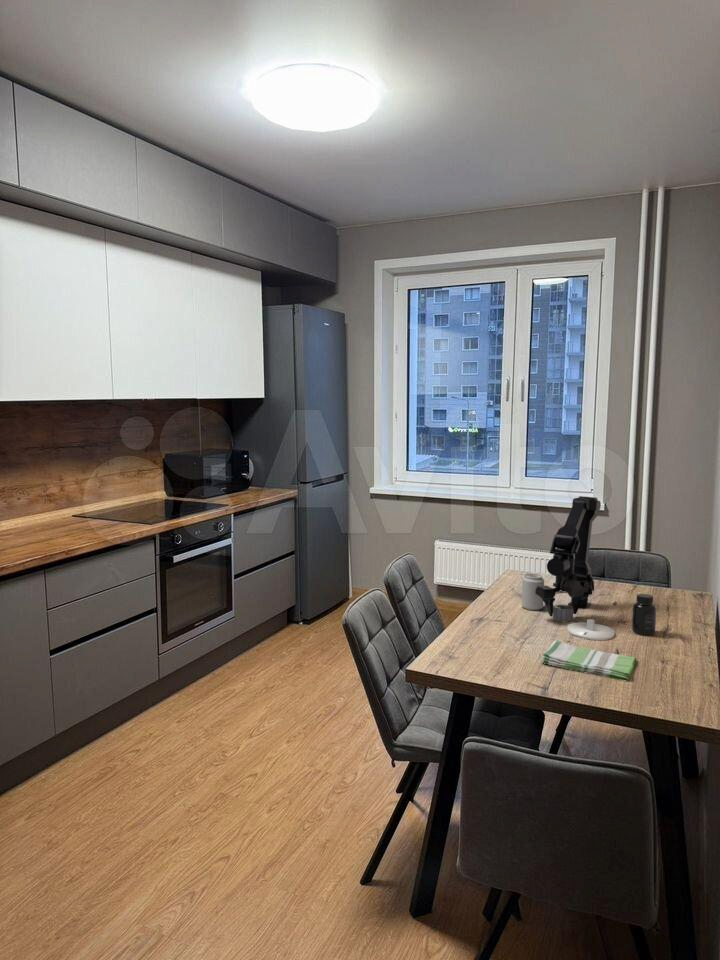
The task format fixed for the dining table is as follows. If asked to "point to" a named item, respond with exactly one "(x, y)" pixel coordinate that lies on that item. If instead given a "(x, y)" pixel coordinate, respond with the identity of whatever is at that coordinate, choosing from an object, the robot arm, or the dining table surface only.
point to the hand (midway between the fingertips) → (562, 615)
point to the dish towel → (589, 661)
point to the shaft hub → (590, 630)
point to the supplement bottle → (644, 615)
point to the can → (531, 591)
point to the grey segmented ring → (562, 612)
